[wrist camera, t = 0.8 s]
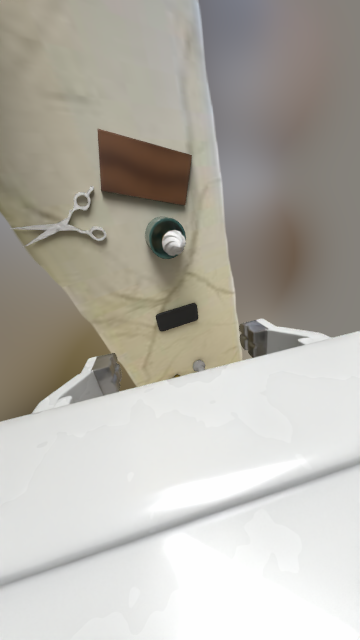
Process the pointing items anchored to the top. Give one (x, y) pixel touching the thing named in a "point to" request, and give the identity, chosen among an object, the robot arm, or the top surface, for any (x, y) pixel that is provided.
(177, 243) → the ice cream cone
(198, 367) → the grey lumpy piece
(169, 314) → the phone
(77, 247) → the top surface
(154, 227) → the cup
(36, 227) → the scissors
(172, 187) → the board
